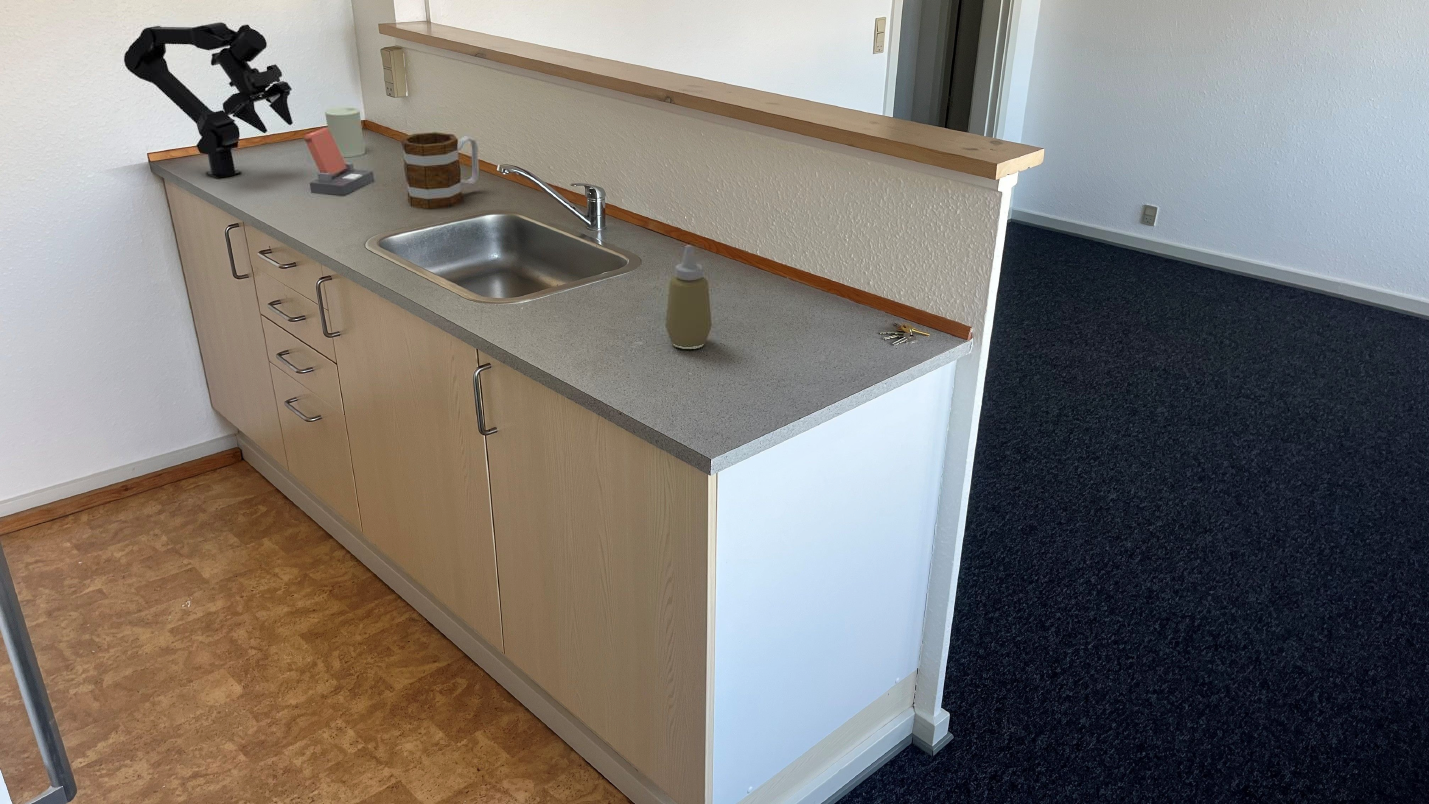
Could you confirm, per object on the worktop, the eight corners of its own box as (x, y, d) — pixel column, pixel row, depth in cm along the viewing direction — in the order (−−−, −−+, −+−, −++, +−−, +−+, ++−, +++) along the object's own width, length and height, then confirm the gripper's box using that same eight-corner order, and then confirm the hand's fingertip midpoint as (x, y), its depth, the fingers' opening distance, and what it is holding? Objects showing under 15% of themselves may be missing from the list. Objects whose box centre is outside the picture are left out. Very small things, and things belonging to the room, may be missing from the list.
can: (372, 152, 295) (366, 108, 289) (346, 159, 288) (339, 114, 282) (350, 147, 299) (344, 104, 294) (323, 153, 292) (316, 110, 287)
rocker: (322, 178, 261) (302, 136, 257) (340, 170, 268) (321, 128, 264) (329, 176, 260) (309, 133, 256) (347, 168, 267) (328, 126, 263)
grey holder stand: (311, 192, 260) (308, 174, 258) (342, 177, 272) (340, 160, 270) (343, 195, 258) (341, 177, 256) (374, 180, 270) (371, 163, 268)
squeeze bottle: (664, 335, 188) (664, 238, 180) (709, 334, 189) (711, 238, 180) (666, 354, 181) (666, 254, 173) (713, 353, 182) (715, 254, 173)
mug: (426, 213, 248) (419, 149, 241) (396, 200, 256) (388, 138, 249) (496, 196, 260) (491, 135, 253) (465, 185, 268) (460, 125, 261)
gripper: (230, 60, 245) (271, 119, 248) (284, 48, 261) (322, 104, 264) (204, 85, 251) (245, 143, 254) (259, 72, 266) (296, 126, 270)
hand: (278, 128), depth 260 cm, fingers open, 9 cm apart
